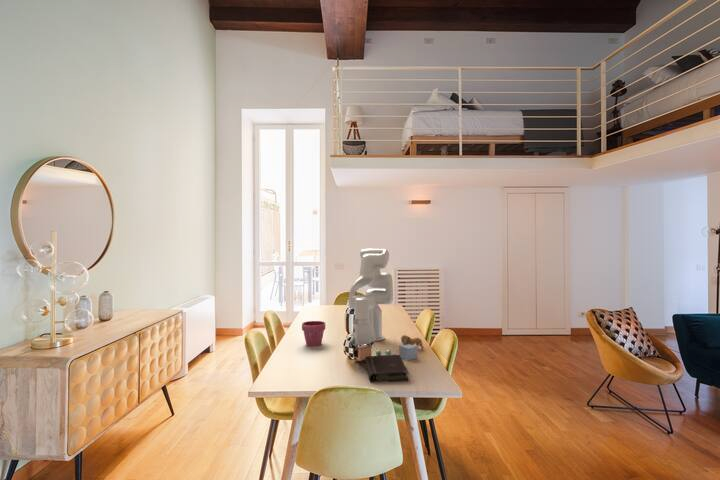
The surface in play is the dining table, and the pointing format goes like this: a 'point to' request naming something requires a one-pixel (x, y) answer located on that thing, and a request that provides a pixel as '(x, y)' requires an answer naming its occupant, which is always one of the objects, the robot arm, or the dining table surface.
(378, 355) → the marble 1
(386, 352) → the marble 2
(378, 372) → the diary
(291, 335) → the dining table surface
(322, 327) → the plant pot
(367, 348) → the reddish brown cube
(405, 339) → the lion figurine
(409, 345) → the blue cube
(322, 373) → the dining table surface
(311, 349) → the dining table surface
